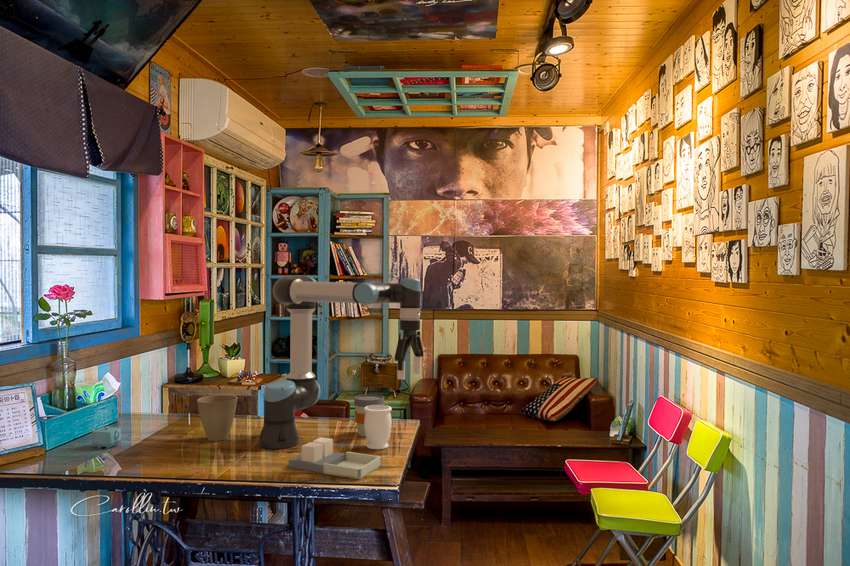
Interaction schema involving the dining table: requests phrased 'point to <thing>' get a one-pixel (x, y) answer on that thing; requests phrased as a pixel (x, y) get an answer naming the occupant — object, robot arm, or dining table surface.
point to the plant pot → (217, 415)
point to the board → (318, 465)
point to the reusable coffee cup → (360, 412)
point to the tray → (354, 466)
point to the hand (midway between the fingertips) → (409, 376)
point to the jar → (377, 426)
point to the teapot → (106, 437)
